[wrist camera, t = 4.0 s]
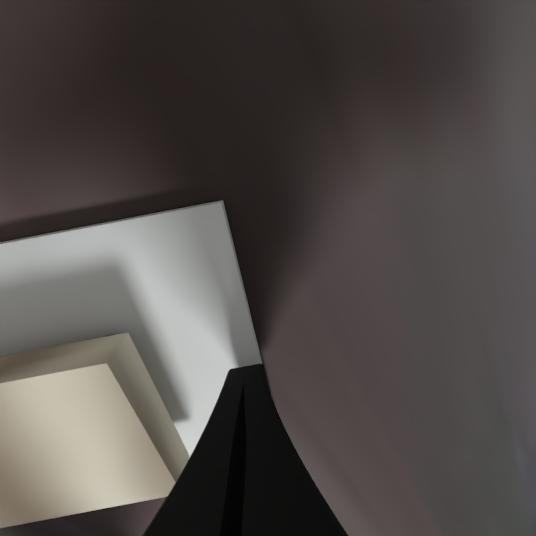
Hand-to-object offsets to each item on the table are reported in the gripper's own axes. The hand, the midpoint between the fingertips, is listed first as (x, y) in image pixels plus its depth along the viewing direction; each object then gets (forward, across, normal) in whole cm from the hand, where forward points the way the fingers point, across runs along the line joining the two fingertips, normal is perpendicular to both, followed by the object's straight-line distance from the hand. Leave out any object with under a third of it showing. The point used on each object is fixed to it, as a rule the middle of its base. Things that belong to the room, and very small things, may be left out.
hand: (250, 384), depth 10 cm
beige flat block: (+1, +8, 0) cm, 9 cm away
